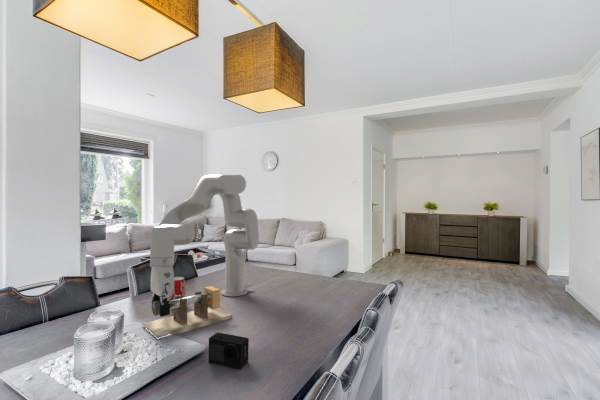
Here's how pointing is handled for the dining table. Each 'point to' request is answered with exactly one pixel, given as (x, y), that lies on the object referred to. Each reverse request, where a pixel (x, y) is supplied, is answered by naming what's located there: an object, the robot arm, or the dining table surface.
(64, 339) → the dining table surface
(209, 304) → the block
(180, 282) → the soda can
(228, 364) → the digital camera
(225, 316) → the rig
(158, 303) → the shaft
